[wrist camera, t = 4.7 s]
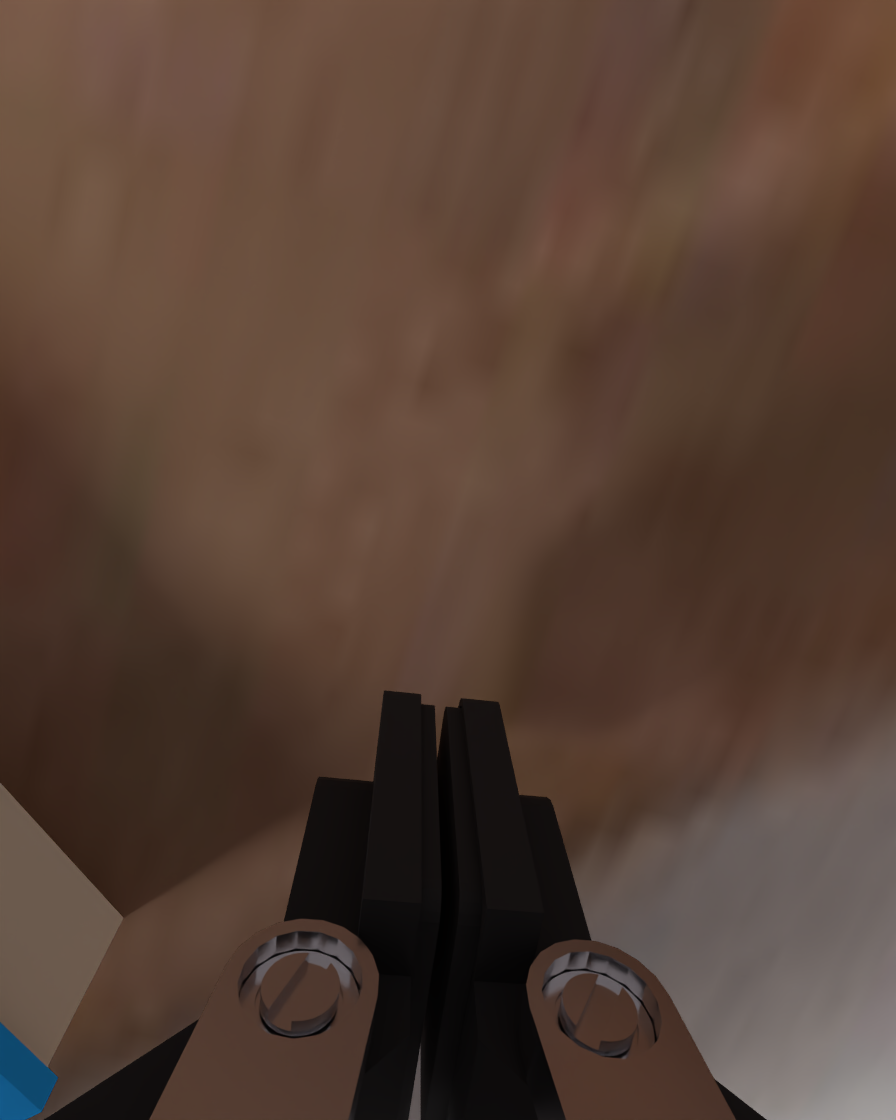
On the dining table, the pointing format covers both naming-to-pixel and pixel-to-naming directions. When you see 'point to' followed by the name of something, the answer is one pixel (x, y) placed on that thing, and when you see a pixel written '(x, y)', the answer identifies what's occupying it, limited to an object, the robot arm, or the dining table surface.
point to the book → (41, 954)
